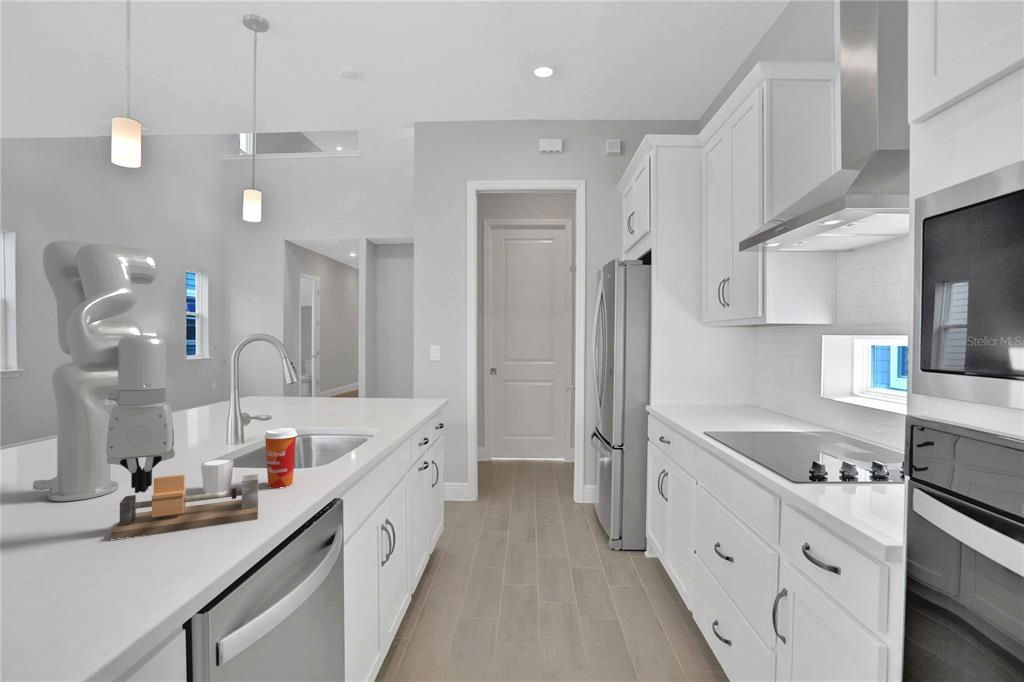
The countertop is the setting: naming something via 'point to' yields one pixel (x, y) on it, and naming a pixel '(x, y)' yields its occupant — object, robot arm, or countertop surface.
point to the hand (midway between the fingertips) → (141, 490)
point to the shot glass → (217, 475)
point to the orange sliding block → (168, 495)
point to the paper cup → (280, 456)
